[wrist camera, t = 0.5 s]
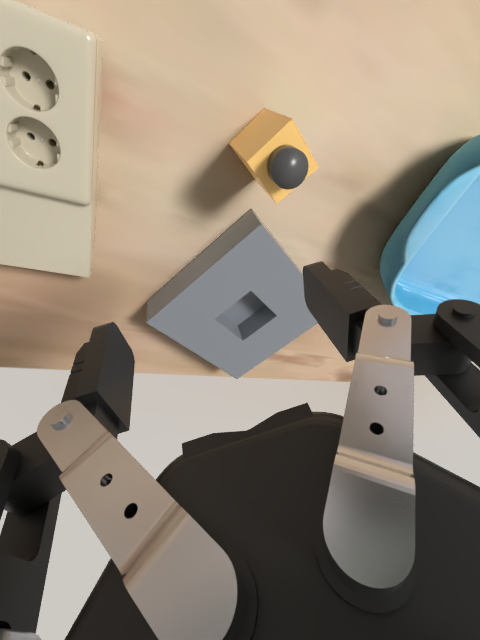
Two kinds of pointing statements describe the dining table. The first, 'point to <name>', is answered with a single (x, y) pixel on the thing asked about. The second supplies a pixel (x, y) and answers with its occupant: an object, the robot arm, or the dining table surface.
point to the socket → (234, 300)
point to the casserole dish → (438, 240)
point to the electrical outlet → (48, 140)
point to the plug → (274, 153)
